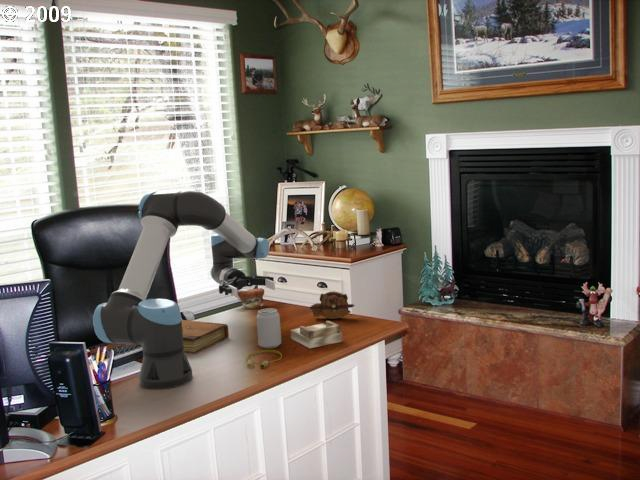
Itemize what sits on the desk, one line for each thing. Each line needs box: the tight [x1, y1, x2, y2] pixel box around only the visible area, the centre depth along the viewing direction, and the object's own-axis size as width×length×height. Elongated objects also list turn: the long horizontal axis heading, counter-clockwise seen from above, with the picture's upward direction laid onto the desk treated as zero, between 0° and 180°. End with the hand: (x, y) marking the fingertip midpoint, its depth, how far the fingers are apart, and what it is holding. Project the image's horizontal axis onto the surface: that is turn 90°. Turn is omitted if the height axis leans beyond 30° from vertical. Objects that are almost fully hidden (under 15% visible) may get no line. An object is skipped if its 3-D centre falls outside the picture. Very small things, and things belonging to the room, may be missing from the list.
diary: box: [182, 319, 230, 355], centre depth 250 cm, size 23×19×6 cm
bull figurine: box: [230, 287, 265, 310], centre depth 294 cm, size 4×13×8 cm, turn 100°
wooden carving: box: [309, 290, 355, 320], centre depth 268 cm, size 16×5×10 cm, turn 83°
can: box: [256, 307, 282, 349], centre depth 240 cm, size 8×8×12 cm
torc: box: [245, 349, 283, 370], centre depth 226 cm, size 12×16×2 cm
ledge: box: [290, 320, 343, 349], centre depth 243 cm, size 12×14×6 cm
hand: (255, 289), depth 247 cm, fingers open, 13 cm apart
